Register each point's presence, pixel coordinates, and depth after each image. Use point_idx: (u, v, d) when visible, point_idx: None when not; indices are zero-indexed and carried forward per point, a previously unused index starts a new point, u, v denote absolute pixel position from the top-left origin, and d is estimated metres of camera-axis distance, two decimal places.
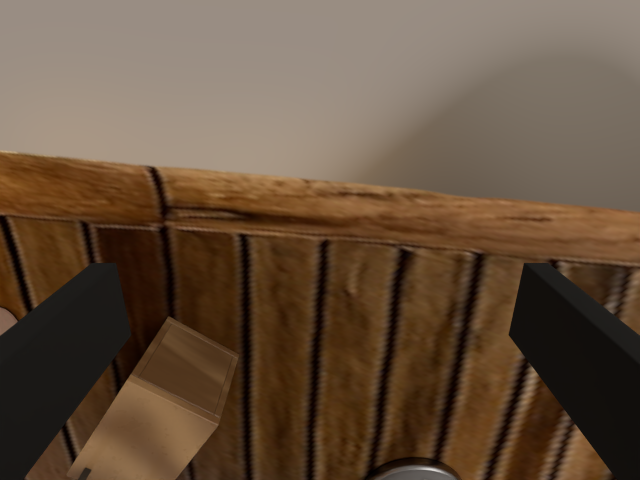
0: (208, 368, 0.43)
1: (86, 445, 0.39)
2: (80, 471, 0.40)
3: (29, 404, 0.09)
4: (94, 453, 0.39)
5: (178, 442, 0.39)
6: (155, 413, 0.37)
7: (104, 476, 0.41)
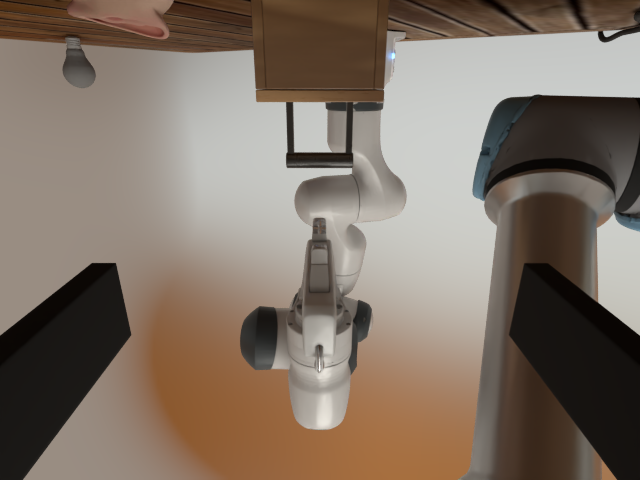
0: (346, 9, 0.27)
1: None
2: None
3: (29, 404, 0.09)
4: None
5: None
6: None
7: None
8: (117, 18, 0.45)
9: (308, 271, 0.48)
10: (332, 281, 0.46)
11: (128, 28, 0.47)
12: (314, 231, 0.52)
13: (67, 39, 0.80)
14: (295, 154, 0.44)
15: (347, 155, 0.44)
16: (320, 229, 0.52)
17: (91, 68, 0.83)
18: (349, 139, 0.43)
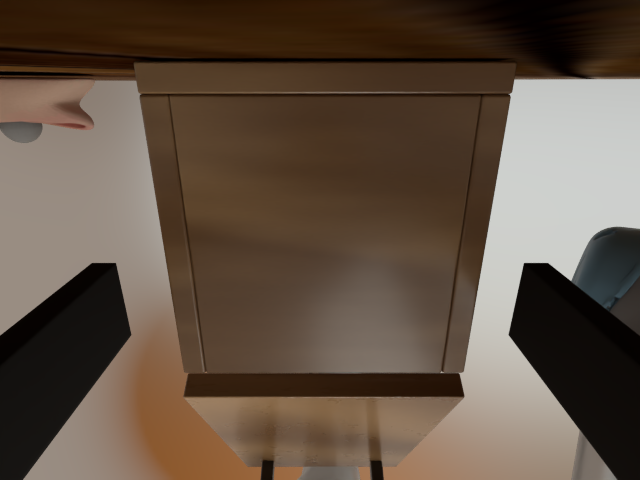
0: (387, 231, 0.11)
1: (235, 451, 0.21)
2: (260, 463, 0.24)
3: (29, 404, 0.09)
4: (256, 453, 0.22)
5: (384, 427, 0.17)
6: (300, 413, 0.15)
7: (298, 461, 0.24)
8: None
9: None
10: None
11: None
12: None
13: None
14: None
15: None
16: None
17: None
18: None
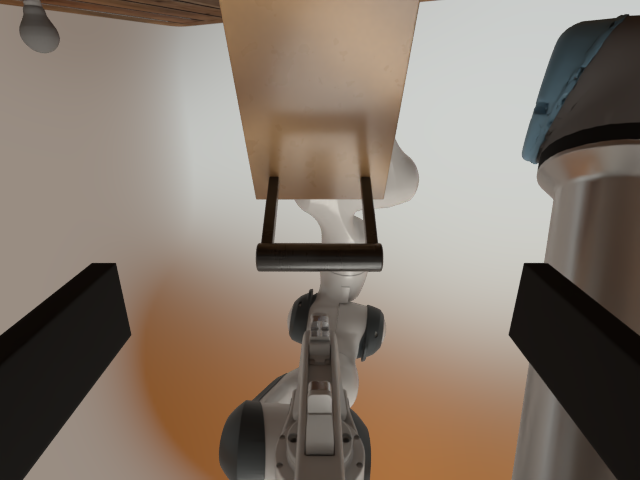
0: None
1: (247, 143, 0.25)
2: (267, 185, 0.28)
3: (29, 404, 0.09)
4: (264, 149, 0.26)
5: (368, 58, 0.21)
6: (301, 15, 0.19)
7: (299, 179, 0.28)
8: None
9: (304, 402, 0.34)
10: (338, 426, 0.32)
11: None
12: (312, 333, 0.38)
13: None
14: (275, 243, 0.24)
15: (369, 243, 0.24)
16: (321, 331, 0.38)
17: (53, 29, 0.71)
18: (371, 223, 0.25)
